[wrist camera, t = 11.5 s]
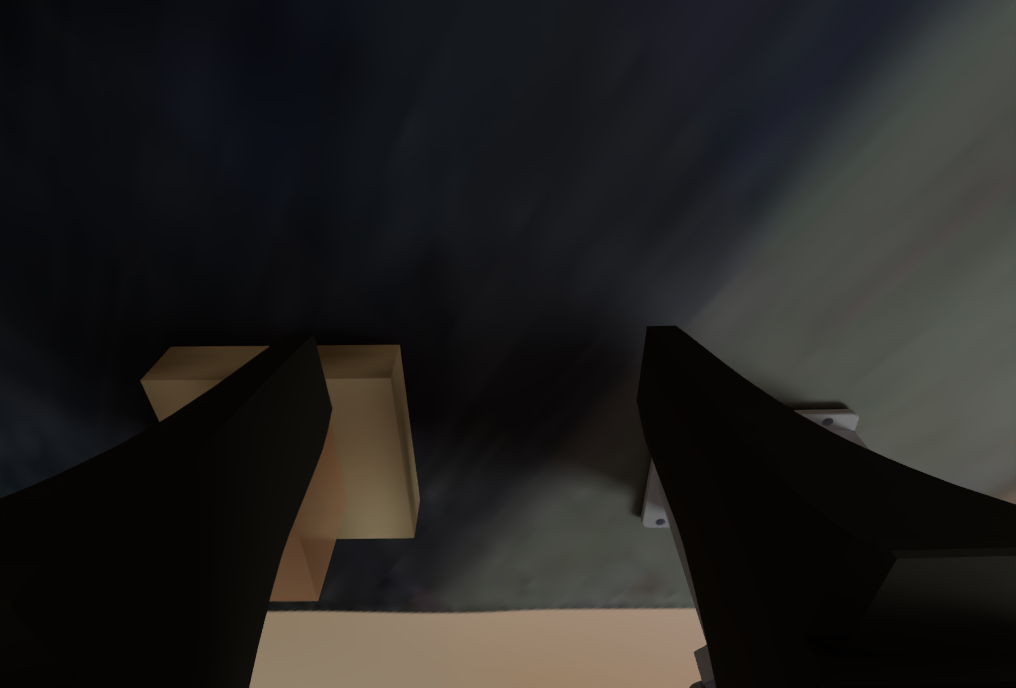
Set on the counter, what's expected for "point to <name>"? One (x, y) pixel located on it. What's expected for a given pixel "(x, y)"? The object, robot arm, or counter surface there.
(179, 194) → the counter surface
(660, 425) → the robot arm
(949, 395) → the counter surface
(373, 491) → the oak block
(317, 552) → the brown cube
